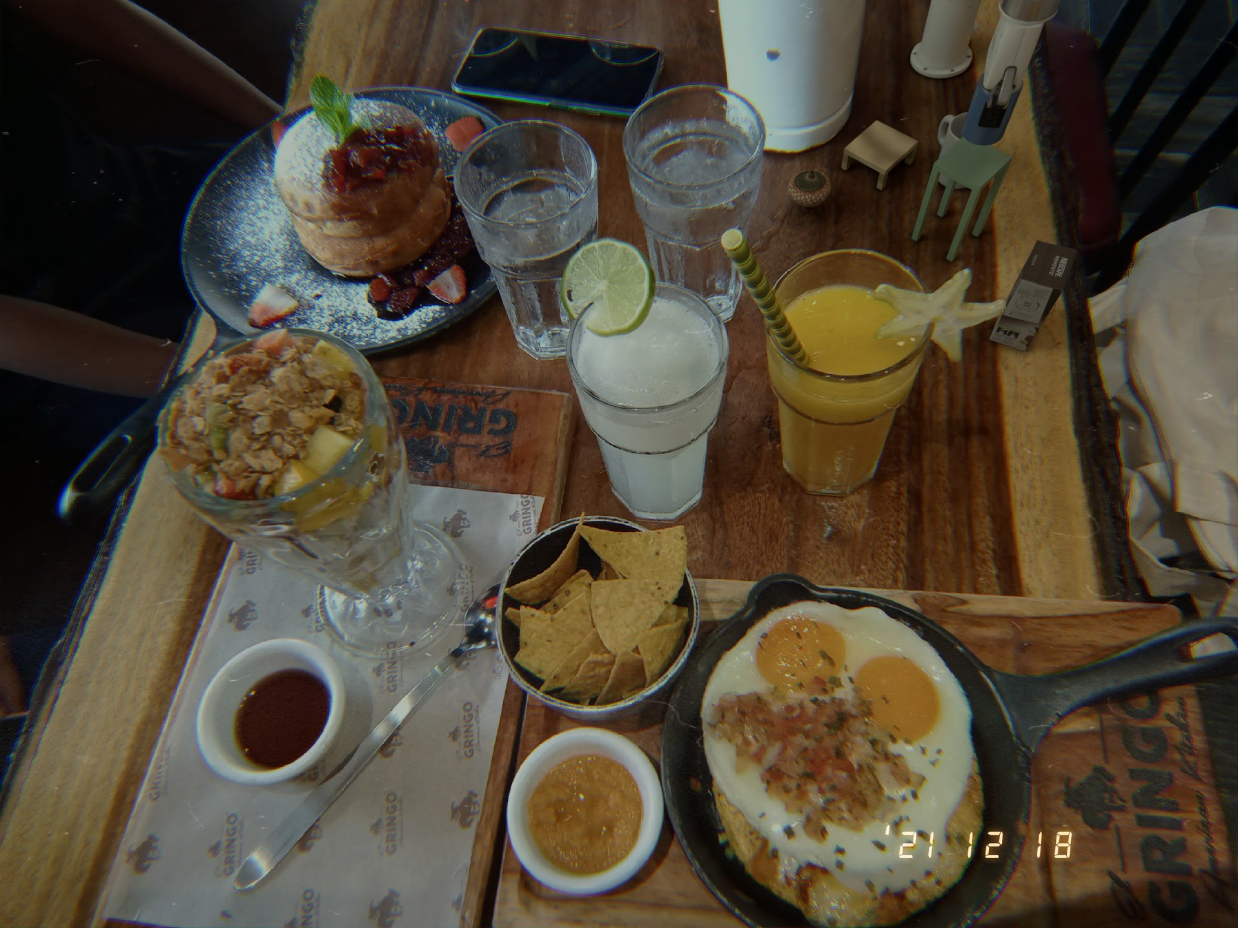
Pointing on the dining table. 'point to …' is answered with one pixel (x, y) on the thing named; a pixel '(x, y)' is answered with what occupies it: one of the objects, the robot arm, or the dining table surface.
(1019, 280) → the coffee box
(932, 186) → the tall green stool
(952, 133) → the mug
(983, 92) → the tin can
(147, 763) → the dining table surface
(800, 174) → the acorn
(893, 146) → the low shelf
